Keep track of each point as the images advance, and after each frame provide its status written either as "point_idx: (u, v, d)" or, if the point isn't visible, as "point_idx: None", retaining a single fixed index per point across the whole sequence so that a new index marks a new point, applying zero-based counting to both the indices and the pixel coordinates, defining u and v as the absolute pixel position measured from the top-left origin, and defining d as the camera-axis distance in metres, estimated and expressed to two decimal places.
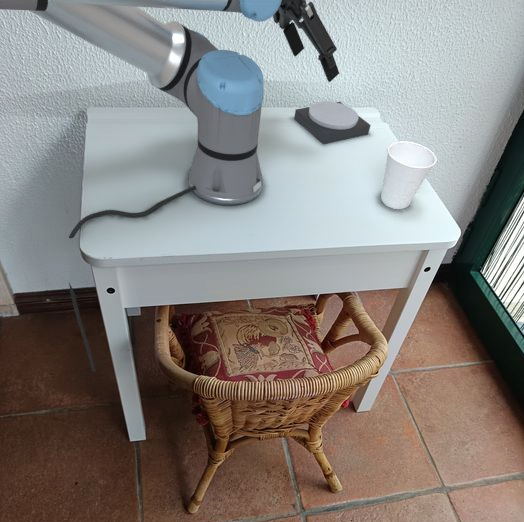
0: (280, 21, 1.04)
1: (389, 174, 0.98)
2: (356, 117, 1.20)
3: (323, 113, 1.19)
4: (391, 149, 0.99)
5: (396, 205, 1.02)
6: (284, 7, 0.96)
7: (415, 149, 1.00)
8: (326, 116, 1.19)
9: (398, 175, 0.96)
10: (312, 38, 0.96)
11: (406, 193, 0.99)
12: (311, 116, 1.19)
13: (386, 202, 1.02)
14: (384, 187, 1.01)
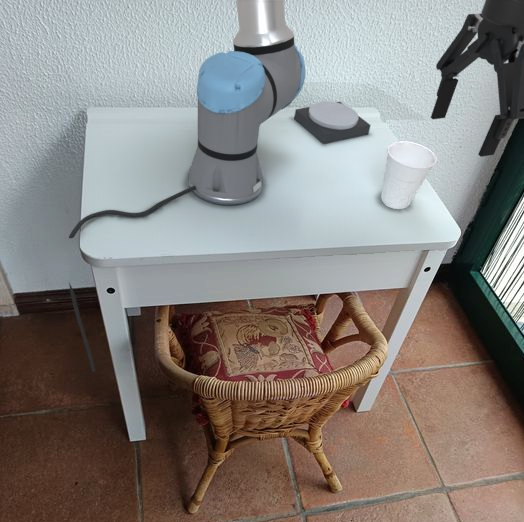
0: (451, 65, 0.82)
1: (389, 174, 0.98)
2: (356, 117, 1.20)
3: (323, 113, 1.19)
4: (391, 149, 0.99)
5: (396, 205, 1.02)
6: (487, 39, 0.74)
7: (415, 149, 1.00)
8: (326, 116, 1.19)
9: (398, 175, 0.96)
10: (505, 89, 0.74)
11: (406, 193, 0.99)
12: (311, 116, 1.19)
13: (386, 202, 1.02)
14: (384, 187, 1.01)
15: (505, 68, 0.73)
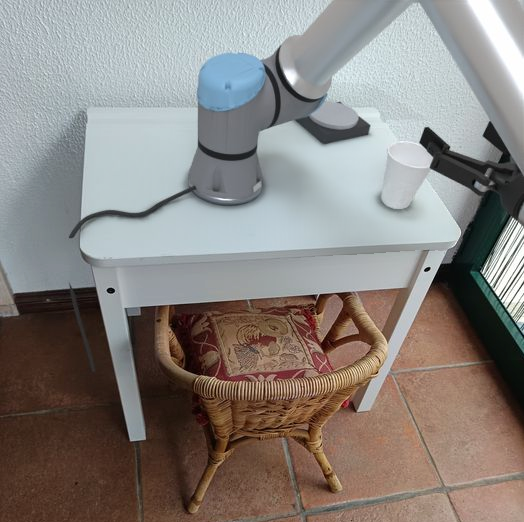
0: None
1: (389, 174, 0.98)
2: (356, 117, 1.20)
3: (323, 113, 1.19)
4: (391, 149, 0.99)
5: (396, 205, 1.02)
6: (518, 169, 0.75)
7: (415, 149, 1.00)
8: (326, 116, 1.19)
9: (398, 175, 0.96)
10: (465, 160, 0.76)
11: (406, 193, 0.99)
12: (311, 116, 1.19)
13: (386, 202, 1.02)
14: (384, 187, 1.01)
15: (482, 168, 0.76)
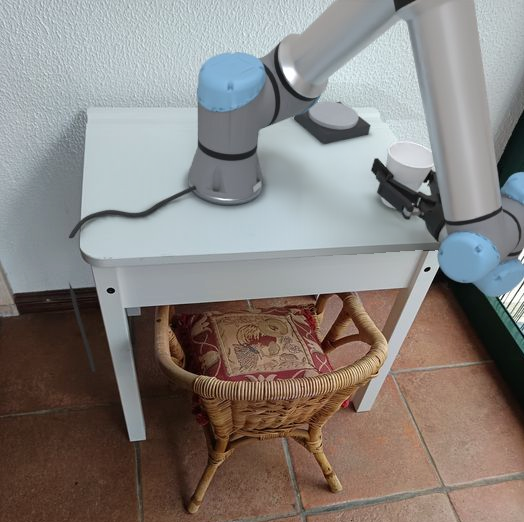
0: None
1: None
2: (356, 117, 1.20)
3: (323, 113, 1.19)
4: (391, 149, 0.99)
5: None
6: (441, 200, 0.92)
7: (415, 149, 1.00)
8: (326, 116, 1.19)
9: (398, 175, 0.96)
10: (401, 189, 0.94)
11: None
12: (311, 116, 1.19)
13: (386, 202, 1.02)
14: None
15: (413, 197, 0.93)
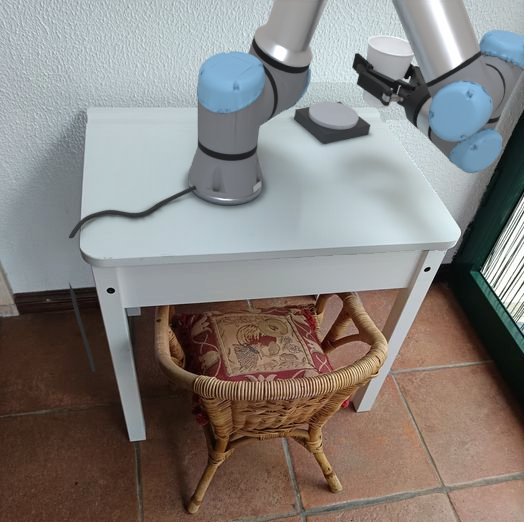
0: (419, 71, 0.97)
1: None
2: (356, 117, 1.20)
3: (323, 113, 1.19)
4: (372, 43, 0.98)
5: (377, 102, 1.01)
6: None
7: (396, 44, 0.99)
8: (326, 116, 1.19)
9: (378, 66, 0.95)
10: (381, 78, 0.93)
11: None
12: (311, 116, 1.19)
13: (367, 100, 1.01)
14: None
15: (393, 85, 0.92)
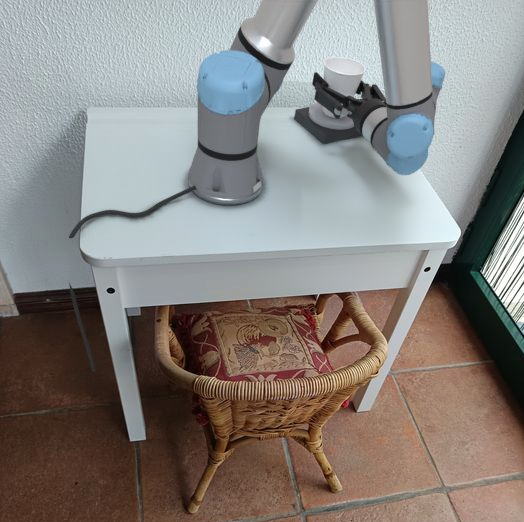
0: (368, 88, 1.13)
1: None
2: None
3: (323, 113, 1.19)
4: (328, 63, 1.14)
5: None
6: None
7: (349, 64, 1.15)
8: (326, 116, 1.19)
9: (332, 84, 1.12)
10: (334, 94, 1.10)
11: None
12: (311, 116, 1.19)
13: (325, 111, 1.18)
14: None
15: (343, 100, 1.09)
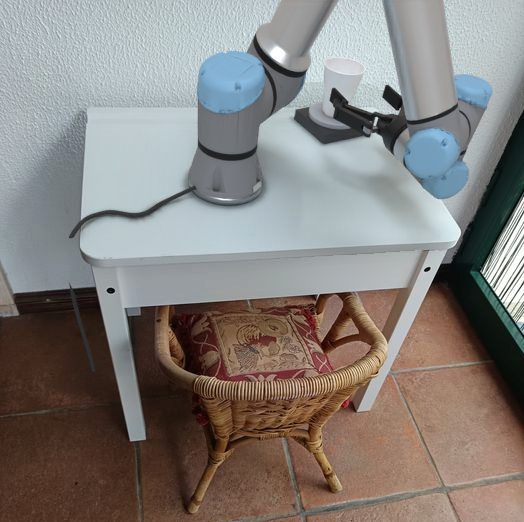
0: None
1: (326, 84, 1.13)
2: None
3: (323, 113, 1.19)
4: (328, 63, 1.14)
5: None
6: None
7: (349, 64, 1.15)
8: (326, 116, 1.19)
9: (332, 84, 1.12)
10: (358, 111, 1.00)
11: None
12: (311, 116, 1.19)
13: (325, 111, 1.18)
14: (323, 98, 1.17)
15: (370, 117, 1.00)
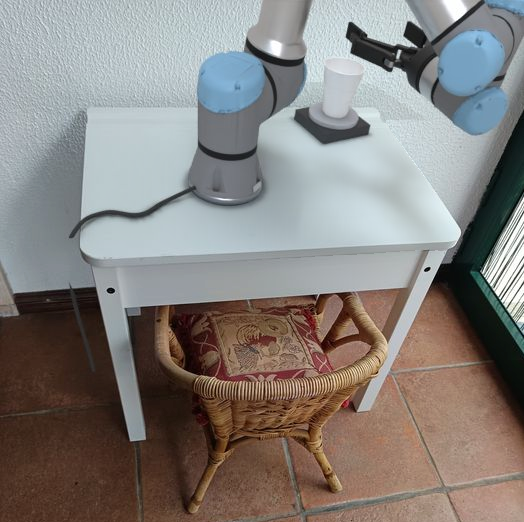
0: None
1: (326, 84, 1.13)
2: (356, 117, 1.20)
3: (323, 113, 1.19)
4: (328, 63, 1.14)
5: (334, 114, 1.17)
6: None
7: (349, 64, 1.15)
8: (326, 116, 1.19)
9: (332, 84, 1.12)
10: (378, 44, 0.90)
11: (341, 101, 1.14)
12: (311, 116, 1.19)
13: (325, 111, 1.18)
14: (323, 98, 1.17)
15: (392, 50, 0.89)
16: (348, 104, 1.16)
